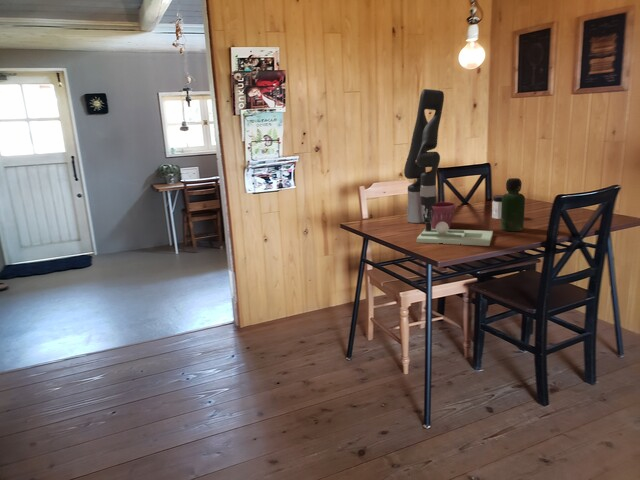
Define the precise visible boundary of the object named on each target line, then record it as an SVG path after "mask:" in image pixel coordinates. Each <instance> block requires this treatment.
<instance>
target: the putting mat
mask: <svg viewBox="0 0 640 480" xmlns="http://www.w3.org/2000/svg"><path fill="white" fill-rule="evenodd" d="M493 235H494V231H493V230H476V229H475V230H474V229H473V230H472V229H448V232H447V233H445V234H439V233H438V232H437V231H436V229H432V228H431V230H430V231H426V228H424V229H423V231H422V232H421V233H420V234H419V235H418V236H417V237H416V243H417V244H418V243H423V244H439V243H443V244H444V245H460V244H461V245H463V246H469V245H470V246H484V247H488V246H489V247H490V245H491V241H492V240H493V239H492V238H493ZM443 244H442V245H443ZM461 245H460V246H461Z"/></svg>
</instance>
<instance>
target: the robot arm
mask: <svg viewBox="0 0 640 480" xmlns="http://www.w3.org/2000/svg"><path fill="white" fill-rule="evenodd" d="M444 101H445V94H444V91H442V90H439V89H430V88H429V89H427V88H424V89H422V91H421V93H420V96H419V101H418V102H419V103H418V108H417V114H416V115H417V116H416V121H415V123H414V127H413V133H412V137H411V141H410V147H409V151H408V155H407V158H406V161H405V164H404V169H403V174H404V177H405V178H406V179H407V180H413V179H416V181H415V182H413V183H411V184H409V185H408V186H407V205H406V222H407V223H413V224H419V223H425V229H426V231H430V230H431V229H432V226H431V222H432V220H433V211H434V209H433V208H432V206H433V205H436V204H437V199H438V198H437V196H438V194H437V190H438V189H437V172H438V169H439V165H440V162H441V155H440V154H439V152H437V151H432V150H434V149H436V148H437V147H438V146H437V145H438V139H439V137H438V136H439V128H440V124H441V118H442V115H443V114H442V113H443V107H444ZM425 110H430V111H431V110H432V111H434V114H433V116H432V118H430V120H429V121H428V119H427V117H426V113H425ZM427 168H431V169H430V170H429V171H427Z"/></svg>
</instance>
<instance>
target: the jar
mask: <svg viewBox="0 0 640 480" xmlns="http://www.w3.org/2000/svg"><path fill="white" fill-rule="evenodd" d="M503 195H504V194H495V195H493V197H492V202H491V203H492V204H491V207H492V208H491V210H492V211H491V218H492V219H496V220H501V207H502V196H503Z"/></svg>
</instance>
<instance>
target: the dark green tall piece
mask: <svg viewBox="0 0 640 480" xmlns="http://www.w3.org/2000/svg"><path fill="white" fill-rule="evenodd" d="M505 189H506V192H507V193H505V194H502V195H503V196H502V207H501V219H500V229H501V230H502V231H505V232H521V231H524V228H525V226H524V225H525V205H526V198H525V196H524V194H522V193H520V192H521V190H522V179H520V178H517V177H515V178H514V177H513V178H512V177H511V178H508V179H507V180H506V183H505Z"/></svg>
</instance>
